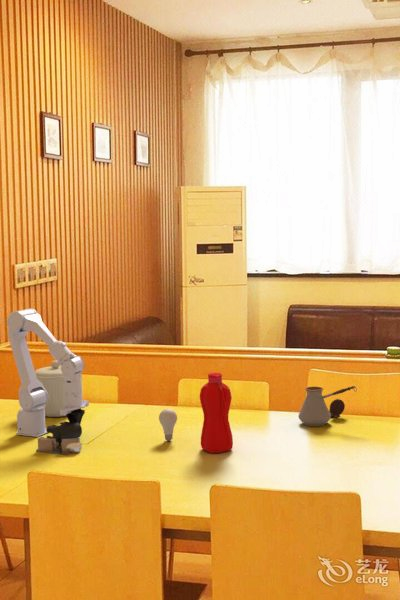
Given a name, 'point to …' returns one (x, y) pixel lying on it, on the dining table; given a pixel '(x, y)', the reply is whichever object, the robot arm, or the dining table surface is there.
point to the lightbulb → (168, 422)
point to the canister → (53, 388)
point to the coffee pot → (316, 406)
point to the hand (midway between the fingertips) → (75, 431)
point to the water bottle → (216, 415)
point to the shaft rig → (51, 444)
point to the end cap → (65, 431)
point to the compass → (336, 408)
